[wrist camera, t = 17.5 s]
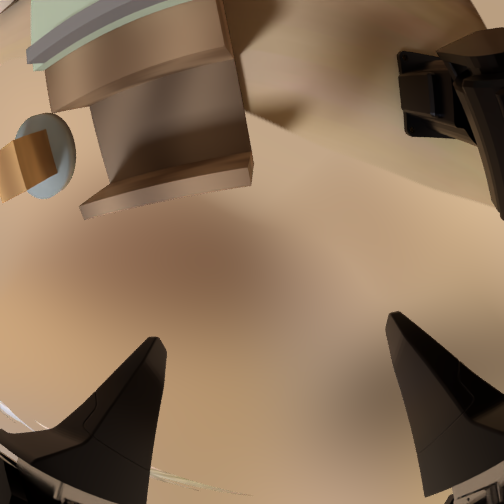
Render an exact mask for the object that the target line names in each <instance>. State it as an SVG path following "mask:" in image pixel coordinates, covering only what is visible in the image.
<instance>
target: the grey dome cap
mask: <svg viewBox="0 0 504 504" xmlns="http://www.w3.org/2000/svg"><path fill="white" fill-rule="evenodd" d="M44 129H46V130H47V135H48V139H49V143H50V147H51V151H52V155H53V158H54V162H55V165H56V169H57V172H58V173H57V174H55V175H53V176H51V177H49V178H48V179H46V180H44V181H42V182H41V183H39V184H37V185H35V186H34V187H32V188H30V189H29V190H27V192H28V193H29V194H31V195H32V196H34V197H36V198H40V199H47V198H50V197H52V196H54V195H55V194H57V193H58V192H60V191H61V190H63V189H64V188H65V187H66V186H67V185H68V183H69V182H70V180H71V178H72V175H73V173H74V169H75V163H76V149H75V143H74V139H73V136H72V133H71V130H70V129H69V127H68V125H67V124H66V122H65V121H64V120H63V119H62V118H60V117H59V116H58V115H56V114H53V113H43V114H39V115H35V116H32V117H30V118H28V119H27V120H26V121H25V122H24V123H23V124H22V125H21V127H20V128H19V130H18V132H17V135H16V138H15V139H18V138H20V137H23V136H26V135H29V134H32V133H35V132H38V131H41V130H44Z"/></svg>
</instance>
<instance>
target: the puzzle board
mask: <svg viewBox="0 0 504 504" xmlns="http://www.w3.org/2000/svg"><path fill="white" fill-rule="evenodd" d="M45 76H46V83H47V90H48V95H49V101H50V106H51V111H52V113H56V112H61V111H66V110H71V109H76V108H82V107H87V106H90V110H91V114H92V119H93V123H94V127H95V132H96V135H97V139H98V143H99V147H100V150H101V154H102V158H103V161H104V164H105V168H106V171H107V174H108V178H109V181H110V184H109V185H108V186H106V187H105V188H103V189H102V190H101V191H99V192H98V193H96V194H95V195H93V196H92V197H91V198H89V199H88V200H87V201H85V202H84V203H83V204H81V205H80V206H79V208H80V210H81V213H82V216H83V218H84V220H86V219H90V218H94V217H98V216H101V215H105V214H110V213H114V212H118V211H122V210H126V209H131V208H135V207H139V206H144V205H148V204H153V203H158V202H162V201H167V200H172V199H177V198H182V197H187V196H193V195H198V194H204V193H209V192H215V191H221V190H227V189H233V188H239V187H246V186H251V182H252V174H253V166H254V162H253V156H252V150H251V145H250V139H249V134H248V128H247V124H246V117H245V112H244V106H243V101H242V96H241V90H240V85H239V80H238V75H237V69H236V64H235V59H234V54H233V49H232V44H231V39H230V34H229V29H228V24H227V19H226V14H225V10H224V5H223V0H192V1H188V2H185V3H181V4H178V5H175V6H172V7H169V8H166V9H163V10H160V11H157V12H154V13H151V14H149V15H146V16H143V17H141V18H138V19H136V20H134V21H131V22H129V23H127V24H124V25H122V26H120V27H118V28H116V29H113V30H111V31H109V32H107V33H105V34H103V35H101V36H99V37H97V38H96V39H94V40H92V41H90V42H88V43H86V44H85V45H83V46H81V47H79V48H78V49H76V50H74V51H73V52H71V53H69V54H68V55H66V56H65V57H63V58H62V59H60V60H59V61H57V62H56V63H54V64H53V65H51V66H50V67H48V68H47V69H45Z"/></svg>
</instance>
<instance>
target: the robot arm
mask: <svg viewBox="0 0 504 504" xmlns="http://www.w3.org/2000/svg"><path fill="white" fill-rule="evenodd" d="M436 53H437V54H438V56H439V57H434V56H429V55H424V54H419V53H413V52H406V51H402V52H399V53H398V54H397V60H398V67H399V74H400V75H399V76H398V80H399V88H400V98H401V108H402V110H403V112H404V129H405V133H406V134H407V135H409V136H412V137H434V138H451V139H458V140H461V141H464V142H467V143H469V144H472V145H474V146H477V147H478V149H479V153H480V156H481V159H482V163H483V166H484V170H485V174H486V178H487V182H488V186H489V191H490V195H491V200H492V202H493V204H494V205H495V207H496V209H497V210H498V212H500V217H501V219H502V220H504V28H503V27H501V28H494V29H487V30H481V31H477V32H474V33H472V34H470V35H468V36H466V37H463V38H461V39H459V40H457V41H455V42H453V43H451V44H449V45H447V46H445V47H443V48H441V49H439V50H437V51H436ZM403 55H404V56H405V58H406V60H404V59H403V58H402V56H403ZM411 127H412V128H413V131H412V132H410V128H411ZM386 336H387V340H388V344H389V349H390V354H391V359H392V363H393V367H394V371H395V374H396V377H397V380H398V383H399V387H400V390H401V394H402V397H403V400H404V404H405V407H406V411H407V415H408V419H409V422H410V426H411V430H412V434H413V439H414V443H415V447H416V452H417V454H418V455H417V457H418V462H419V467H420V472H421V478H422V483H423V490H424V496H425V497H428V496H431V495H434V494H436V493H439V492H442V491H444V490H447V489H449V488H451V487H452V490H453V494H452V495H450V496H449V497H448V499H447V500H446V502H445V504H504V394H503V393H501V392H500V391H498V390H497V389H495V388H494V387H493V386H491V385H490V384H489V383H487V382H486V381H484V380H483V379H482V378H480V377H479V376H478V375H476V374H475V373H474V372H472V371H471V370H470V369H469V368H467V367H466V366H465V365H464V364H463V363H462V362H459V360H458V359H457V358H456V357H454V356H453V355H452V354H451V353H450V352H449V351H448V350H446V349H445V348H444V347H443V346H442V345H440V344H439V343H438V342H437V341H436V340H434V339H433V338H432V337H431V336H429V335H428V334H427V333H426V332H425V331H423V330H422V329H421V328H420V327H418V326H417V325H416V324H415V323H414V322H412V321H411V320H410V319H409V318H407V317H406V316H405V315H404V314H402V313H401V312H399V311H396V312H392V313H390V314H389V315H388V320H387V324H386ZM166 358H167V351H166V349H165V347H164V345H163V344H162V342H161V340H160V338H158V337H148V338H147V339H146V340H145V341H144V342H143V343H142V344H141V345H140V346H139V347H138V348H137V349H136V350H135V351H134V352H133V353H132V354H131V355H130V356H129V357H128V358H127V359H126V360H125V361H124V362H123V363H122V364H121V365H120V366H119V367H118V369H116V371H114V373H113V374H112V375H111V376H110V377H109V378H108V379H107V380H106V381H105V382H104V383H103V384H102V385H101V386H100V387H99V388H98V389H97V390H96V392H94V393H93V394H92V395H91V396H90V397H89V398H88V399H87V400H86V401H85V402H84V403H83V404H82V405H81V406H79V407H78V408H77V409H76V410H75V411H74V412H73V413H71V414H70V415H69V416H68V417H67V418H66V419H65V420H63V421H62V422H61V423H60V424H58V425H57V426H56V427H54V428H52V429H48V430H43V431H35V432H27V433H16V434H12V433H7V432H6V431H4V430H3V429H0V444H2V445H3V446H4V447H5V448H7V449H8V450H9V451H11V452H12V453H13V454H15V455H16V456H17V457H18V461H17V462H16V461H14V460H13V459H11V458H10V457H8V456H7V455H5V454H4V453H2V452H1V451H0V504H146V501H147V492H148V483H149V476H150V467H151V460H152V453H153V446H154V440H155V434H156V428H157V421H158V416H159V410H160V404H161V399H162V394H163V389H164V381H165V369H166Z"/></svg>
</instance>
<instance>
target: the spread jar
mask: <svg viewBox="0 0 504 504" xmlns="http://www.w3.org/2000/svg"><path fill="white" fill-rule="evenodd" d="M16 1H18V0H0V13H2V12H3V11H5V10H6V9H8V8H9V7H10V6H12V5H13V4H14V3H15V2H16Z"/></svg>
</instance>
